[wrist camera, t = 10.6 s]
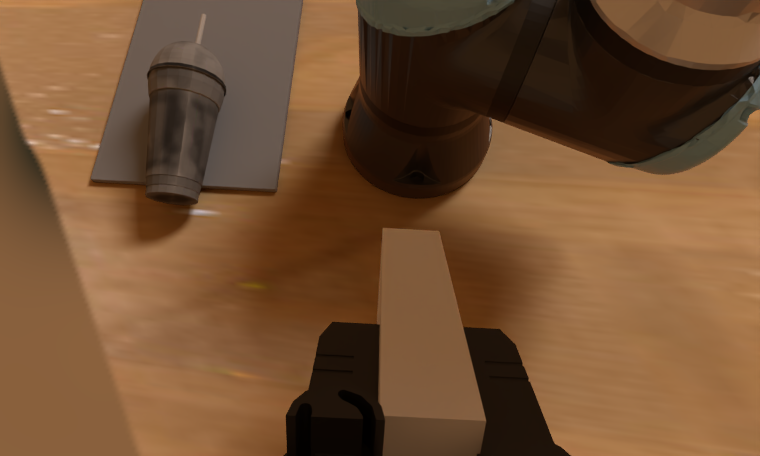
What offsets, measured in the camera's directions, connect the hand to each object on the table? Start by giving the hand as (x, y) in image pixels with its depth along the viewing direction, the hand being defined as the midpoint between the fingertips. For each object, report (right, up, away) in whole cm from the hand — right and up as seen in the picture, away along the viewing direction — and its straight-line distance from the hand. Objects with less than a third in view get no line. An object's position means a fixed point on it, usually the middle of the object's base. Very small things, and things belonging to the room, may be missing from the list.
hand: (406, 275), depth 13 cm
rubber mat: (-19, +18, +40) cm, 48 cm away
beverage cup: (-20, +4, +32) cm, 38 cm away
